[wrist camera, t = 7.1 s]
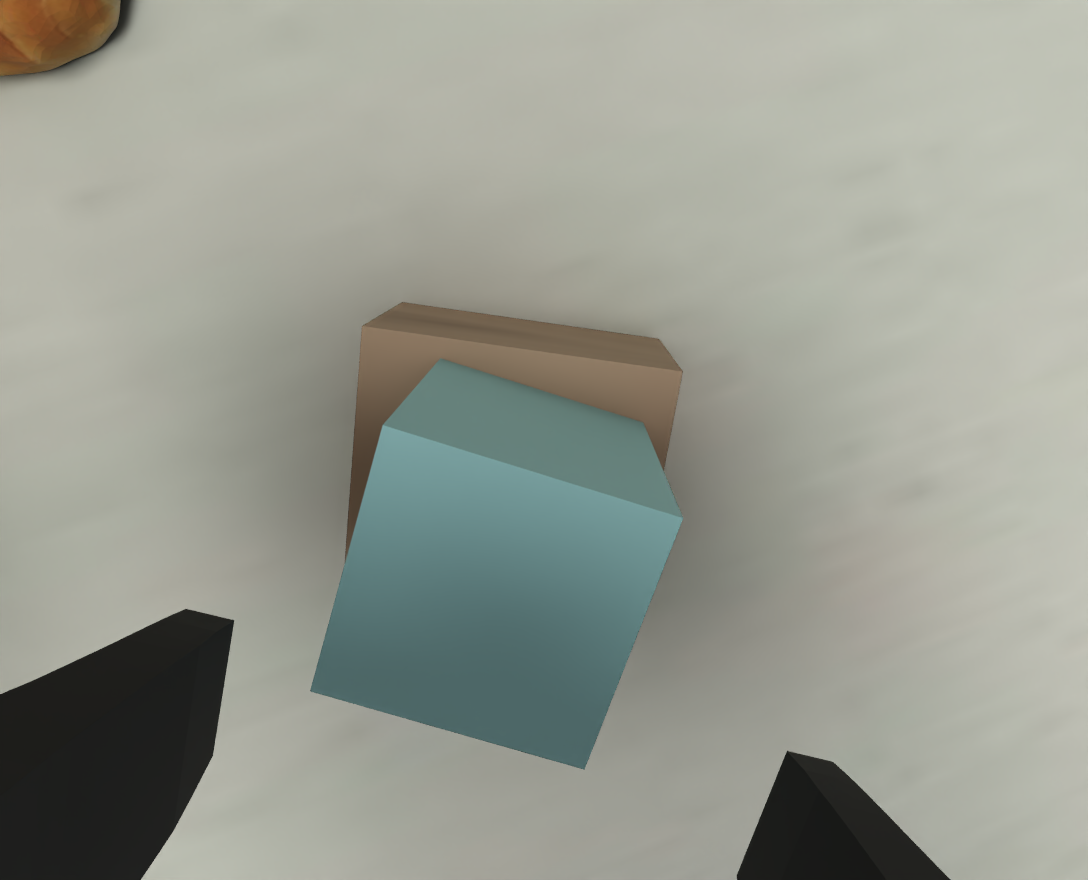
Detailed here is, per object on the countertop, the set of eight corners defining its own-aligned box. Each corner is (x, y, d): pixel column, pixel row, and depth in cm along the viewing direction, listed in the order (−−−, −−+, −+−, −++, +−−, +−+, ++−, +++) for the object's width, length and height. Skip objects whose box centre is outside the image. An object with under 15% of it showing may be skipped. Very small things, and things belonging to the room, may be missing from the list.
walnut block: (616, 568, 20) (628, 652, 16) (383, 536, 20) (340, 614, 16) (657, 337, 19) (682, 371, 15) (403, 301, 18) (362, 325, 15)
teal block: (576, 604, 16) (584, 769, 11) (386, 547, 16) (310, 691, 11) (643, 422, 15) (683, 517, 10) (440, 358, 15) (382, 425, 10)
